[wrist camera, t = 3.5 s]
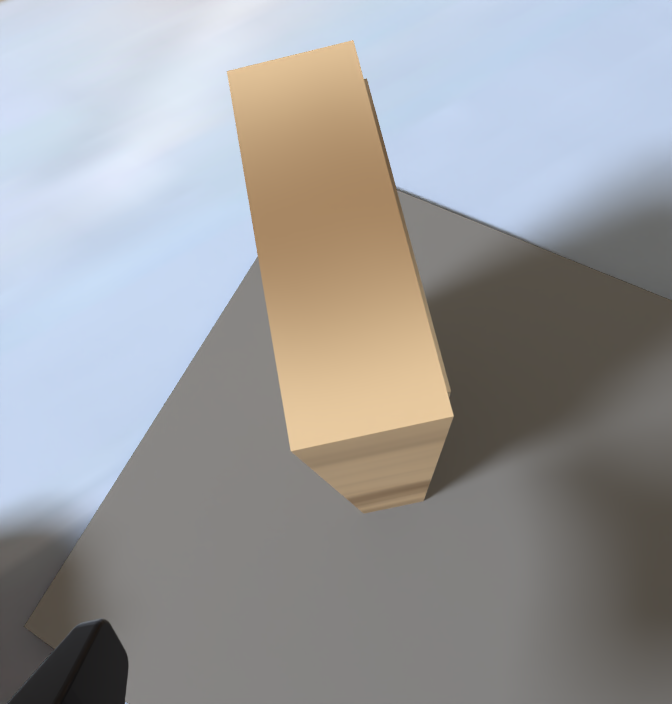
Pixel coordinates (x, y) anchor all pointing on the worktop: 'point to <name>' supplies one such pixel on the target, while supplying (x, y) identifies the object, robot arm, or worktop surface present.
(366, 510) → the board
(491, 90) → the worktop surface
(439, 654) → the mat
